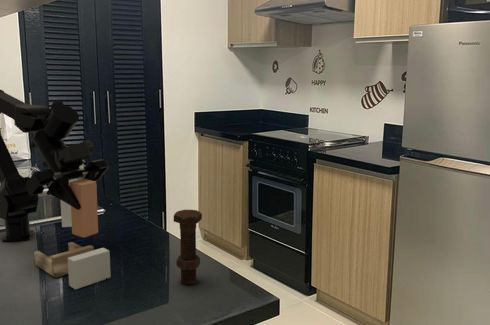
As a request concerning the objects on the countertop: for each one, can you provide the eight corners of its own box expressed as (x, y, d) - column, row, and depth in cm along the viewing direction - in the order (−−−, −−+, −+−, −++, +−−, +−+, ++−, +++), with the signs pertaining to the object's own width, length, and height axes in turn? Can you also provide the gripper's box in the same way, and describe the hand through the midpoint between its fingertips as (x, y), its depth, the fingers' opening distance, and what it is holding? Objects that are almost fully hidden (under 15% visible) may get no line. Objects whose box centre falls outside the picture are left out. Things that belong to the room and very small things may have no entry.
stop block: (69, 285, 97) (67, 257, 96) (104, 273, 103) (103, 247, 101) (75, 289, 95) (73, 261, 94) (110, 277, 101) (109, 250, 100)
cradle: (35, 264, 106) (33, 245, 106) (72, 253, 113) (71, 235, 112) (55, 278, 100) (54, 257, 99) (94, 265, 106) (93, 246, 105)
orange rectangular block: (72, 233, 107) (69, 182, 105) (86, 229, 110) (84, 178, 108) (83, 237, 105) (81, 185, 103) (98, 232, 108) (96, 181, 106)
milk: (86, 219, 139) (83, 145, 135) (84, 226, 133) (80, 148, 129) (64, 220, 138) (60, 145, 134) (61, 227, 132) (56, 149, 128)
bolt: (196, 289, 96) (195, 218, 93) (172, 286, 97) (171, 216, 94) (204, 277, 101) (203, 209, 99) (181, 275, 102) (180, 208, 100)
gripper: (30, 133, 97) (66, 194, 94) (102, 125, 113) (136, 177, 109) (11, 166, 103) (44, 224, 100) (82, 154, 119) (114, 204, 115)
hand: (87, 206), depth 106 cm, fingers closed on orange rectangular block, 4 cm apart
